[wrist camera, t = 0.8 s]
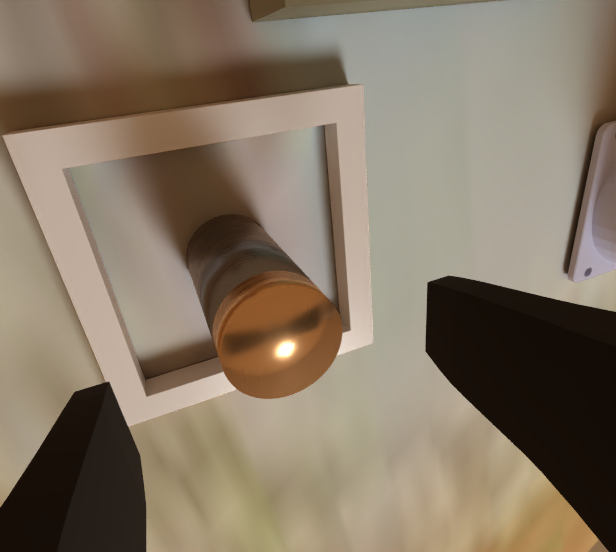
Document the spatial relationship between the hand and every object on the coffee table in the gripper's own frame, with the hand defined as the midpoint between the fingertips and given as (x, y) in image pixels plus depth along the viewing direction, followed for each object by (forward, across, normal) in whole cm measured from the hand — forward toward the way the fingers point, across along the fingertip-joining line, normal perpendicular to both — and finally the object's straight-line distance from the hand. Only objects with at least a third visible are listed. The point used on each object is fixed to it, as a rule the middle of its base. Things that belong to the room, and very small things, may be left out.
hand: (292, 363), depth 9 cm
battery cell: (+7, 0, 0) cm, 7 cm away
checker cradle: (+7, 0, 0) cm, 7 cm away
